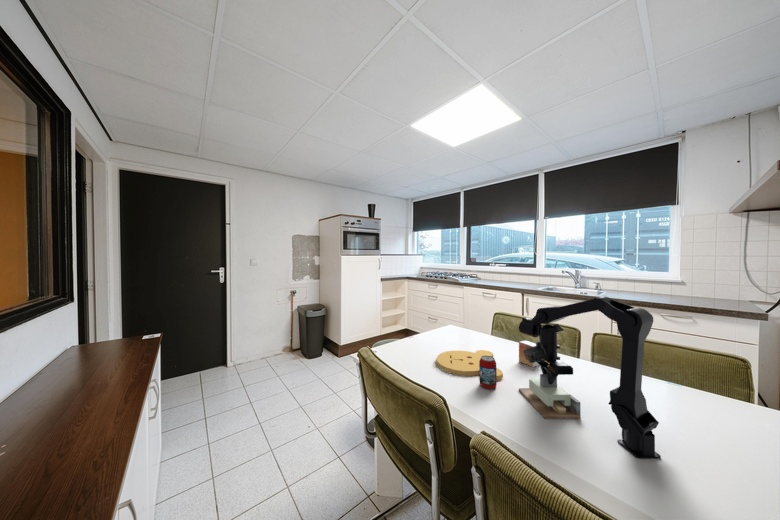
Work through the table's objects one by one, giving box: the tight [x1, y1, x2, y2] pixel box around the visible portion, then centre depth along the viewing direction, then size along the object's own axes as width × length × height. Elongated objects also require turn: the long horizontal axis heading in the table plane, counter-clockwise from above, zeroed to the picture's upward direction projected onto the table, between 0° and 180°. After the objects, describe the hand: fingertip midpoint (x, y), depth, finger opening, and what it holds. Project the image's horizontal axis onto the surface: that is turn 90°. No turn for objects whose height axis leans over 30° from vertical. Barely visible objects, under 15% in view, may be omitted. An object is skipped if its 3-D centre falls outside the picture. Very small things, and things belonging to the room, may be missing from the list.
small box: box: [518, 339, 540, 368], centre depth 130 cm, size 8×6×10 cm
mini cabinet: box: [528, 373, 572, 406], centre depth 95 cm, size 12×8×8 cm, turn 179°
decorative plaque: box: [436, 349, 504, 381], centre depth 131 cm, size 31×3×30 cm
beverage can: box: [479, 356, 497, 390], centre depth 109 cm, size 7×7×12 cm
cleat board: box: [518, 386, 581, 420], centre depth 95 cm, size 18×12×6 cm, turn 179°
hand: (548, 382), depth 95 cm, fingers closed on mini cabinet
